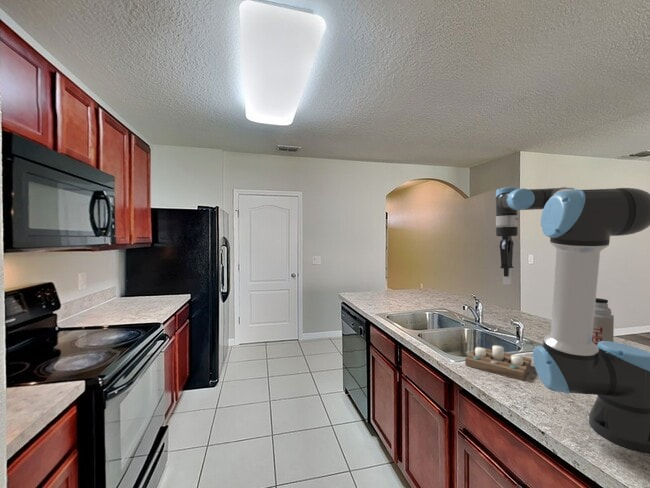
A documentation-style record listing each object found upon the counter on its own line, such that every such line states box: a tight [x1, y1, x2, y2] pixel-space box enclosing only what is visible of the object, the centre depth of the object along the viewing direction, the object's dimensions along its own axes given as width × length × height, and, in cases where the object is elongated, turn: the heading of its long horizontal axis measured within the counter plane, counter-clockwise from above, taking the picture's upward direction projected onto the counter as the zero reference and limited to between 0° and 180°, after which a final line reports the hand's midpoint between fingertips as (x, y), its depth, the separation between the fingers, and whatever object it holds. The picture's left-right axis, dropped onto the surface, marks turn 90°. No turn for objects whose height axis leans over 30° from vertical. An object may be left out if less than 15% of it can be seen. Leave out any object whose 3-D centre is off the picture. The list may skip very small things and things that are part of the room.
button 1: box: [511, 354, 524, 366], centre depth 119 cm, size 4×4×5 cm
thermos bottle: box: [592, 297, 615, 346], centre depth 114 cm, size 8×8×28 cm
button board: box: [464, 347, 532, 381], centre depth 123 cm, size 16×20×3 cm
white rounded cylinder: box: [474, 346, 487, 358], centre depth 128 cm, size 4×4×5 cm
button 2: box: [491, 344, 505, 361], centre depth 123 cm, size 4×4×5 cm
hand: (506, 284), depth 125 cm, fingers closed
